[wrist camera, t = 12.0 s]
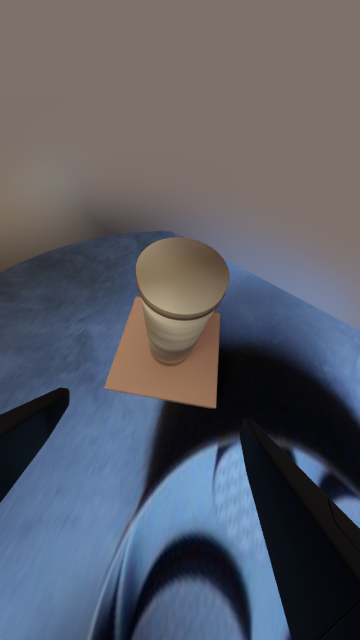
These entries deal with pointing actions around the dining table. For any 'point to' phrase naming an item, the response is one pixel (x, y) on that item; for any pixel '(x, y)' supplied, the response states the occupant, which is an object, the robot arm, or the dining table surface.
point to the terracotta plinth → (166, 381)
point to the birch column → (179, 294)
